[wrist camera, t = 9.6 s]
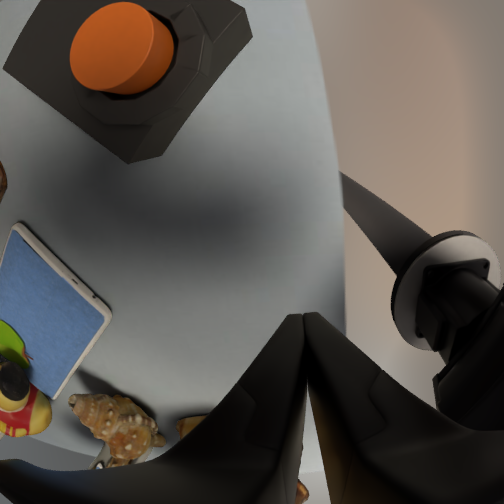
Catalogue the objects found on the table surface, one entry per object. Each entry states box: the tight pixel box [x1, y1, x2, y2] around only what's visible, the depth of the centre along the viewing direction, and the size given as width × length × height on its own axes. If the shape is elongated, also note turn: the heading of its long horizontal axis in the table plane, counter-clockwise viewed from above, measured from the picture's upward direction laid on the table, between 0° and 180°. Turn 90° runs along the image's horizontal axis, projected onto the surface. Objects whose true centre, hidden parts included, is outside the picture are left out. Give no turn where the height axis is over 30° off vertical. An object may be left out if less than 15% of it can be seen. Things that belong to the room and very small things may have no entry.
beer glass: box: [87, 441, 153, 470], centre depth 25 cm, size 7×7×15 cm
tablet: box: [0, 223, 112, 400], centre depth 26 cm, size 19×13×1 cm, turn 138°
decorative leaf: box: [0, 320, 33, 369], centre depth 26 cm, size 8×9×1 cm
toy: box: [0, 361, 52, 437], centre depth 25 cm, size 9×11×10 cm
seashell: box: [68, 394, 166, 460], centre depth 27 cm, size 9×8×10 cm
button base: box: [3, 0, 253, 164], centre depth 14 cm, size 14×10×7 cm
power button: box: [70, 2, 174, 95], centre depth 11 cm, size 4×4×3 cm
